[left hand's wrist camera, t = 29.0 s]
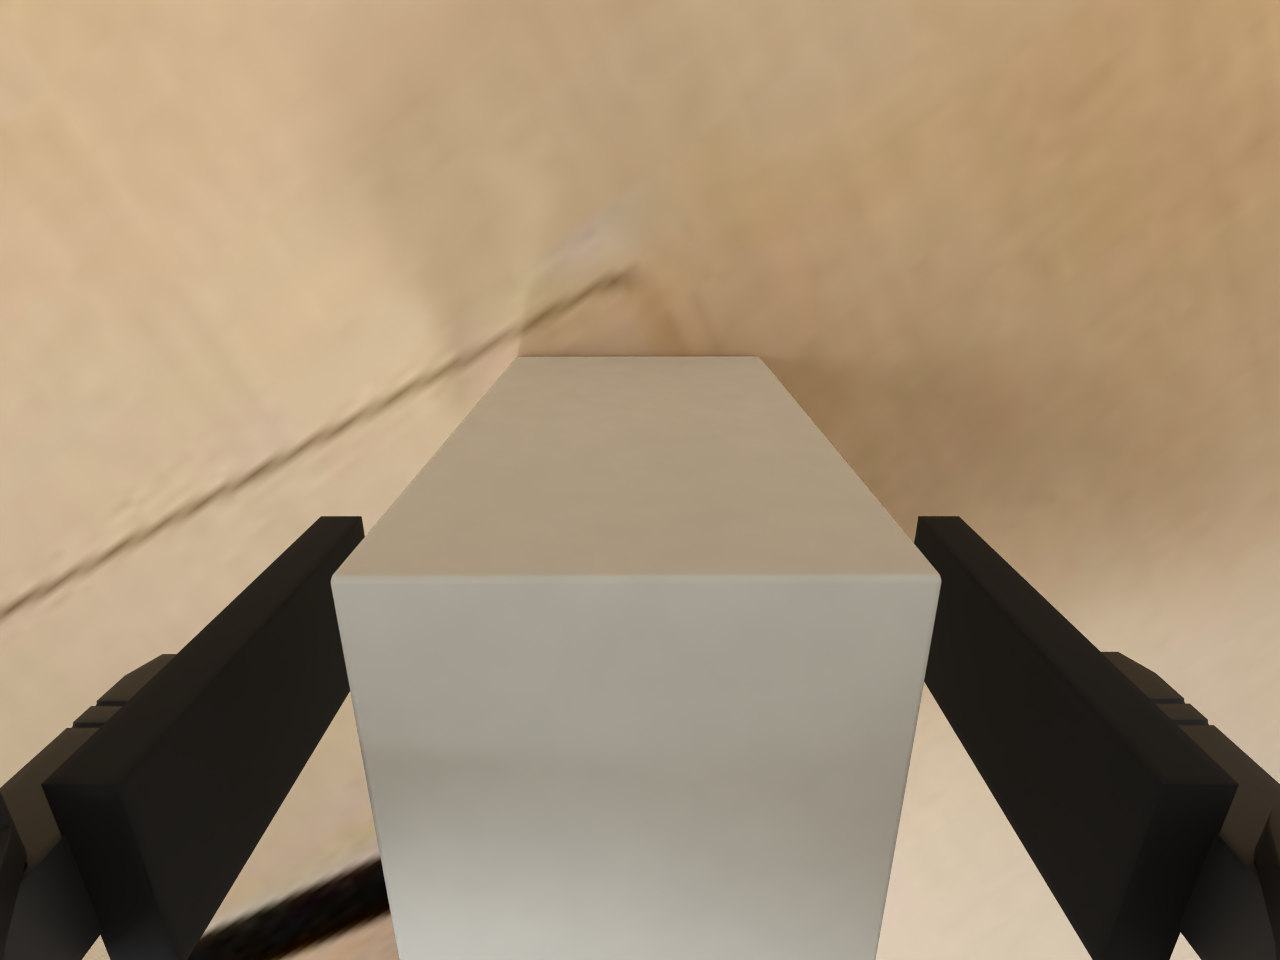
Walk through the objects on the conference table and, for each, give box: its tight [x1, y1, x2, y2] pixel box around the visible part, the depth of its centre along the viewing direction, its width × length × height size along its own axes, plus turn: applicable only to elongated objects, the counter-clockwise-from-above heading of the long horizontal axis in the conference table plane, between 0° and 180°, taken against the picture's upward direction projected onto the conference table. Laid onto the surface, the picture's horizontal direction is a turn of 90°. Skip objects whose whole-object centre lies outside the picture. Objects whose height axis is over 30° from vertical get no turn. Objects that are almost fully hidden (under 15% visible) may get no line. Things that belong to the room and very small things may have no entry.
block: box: [331, 356, 941, 960], centre depth 14 cm, size 6×6×12 cm
